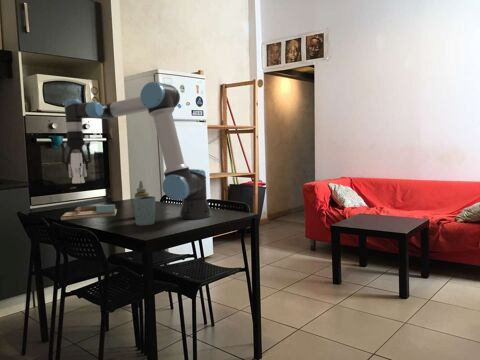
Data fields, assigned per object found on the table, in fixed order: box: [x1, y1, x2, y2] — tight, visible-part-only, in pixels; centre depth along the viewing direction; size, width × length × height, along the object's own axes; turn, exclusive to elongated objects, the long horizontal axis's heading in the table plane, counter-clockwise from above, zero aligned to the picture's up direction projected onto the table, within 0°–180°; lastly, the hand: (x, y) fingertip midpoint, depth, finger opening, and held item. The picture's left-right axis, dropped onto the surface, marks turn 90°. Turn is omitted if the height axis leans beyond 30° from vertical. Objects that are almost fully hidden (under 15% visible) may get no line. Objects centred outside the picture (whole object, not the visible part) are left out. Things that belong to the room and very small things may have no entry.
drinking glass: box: [132, 195, 156, 226], centre depth 193 cm, size 10×10×12 cm
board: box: [60, 205, 118, 221], centre depth 222 cm, size 17×26×4 cm, turn 103°
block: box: [95, 204, 116, 214], centre depth 218 cm, size 2×9×4 cm, turn 103°
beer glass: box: [69, 152, 86, 184], centre depth 213 cm, size 7×7×15 cm
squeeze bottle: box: [134, 180, 149, 198], centre depth 210 cm, size 8×8×18 cm
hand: (78, 176), depth 213 cm, fingers closed on beer glass, 6 cm apart
